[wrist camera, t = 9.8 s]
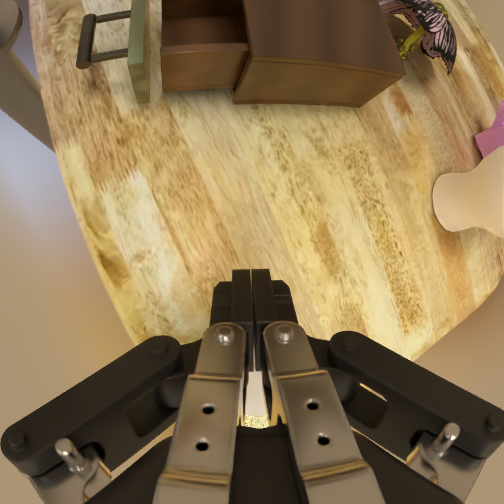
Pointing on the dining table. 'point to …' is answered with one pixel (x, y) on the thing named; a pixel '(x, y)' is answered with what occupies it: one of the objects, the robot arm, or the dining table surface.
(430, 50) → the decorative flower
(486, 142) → the teapot
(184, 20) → the drawer
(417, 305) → the dining table surface
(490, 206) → the cup
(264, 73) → the cabinet
